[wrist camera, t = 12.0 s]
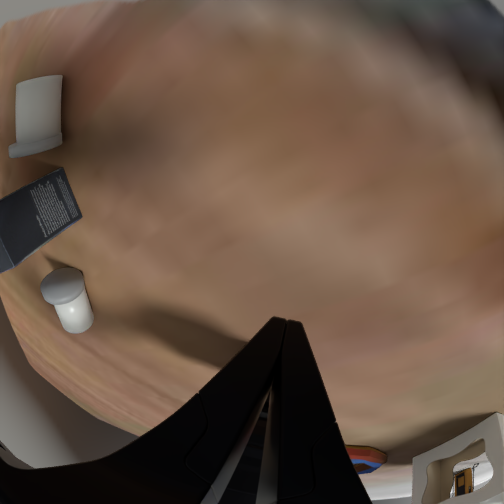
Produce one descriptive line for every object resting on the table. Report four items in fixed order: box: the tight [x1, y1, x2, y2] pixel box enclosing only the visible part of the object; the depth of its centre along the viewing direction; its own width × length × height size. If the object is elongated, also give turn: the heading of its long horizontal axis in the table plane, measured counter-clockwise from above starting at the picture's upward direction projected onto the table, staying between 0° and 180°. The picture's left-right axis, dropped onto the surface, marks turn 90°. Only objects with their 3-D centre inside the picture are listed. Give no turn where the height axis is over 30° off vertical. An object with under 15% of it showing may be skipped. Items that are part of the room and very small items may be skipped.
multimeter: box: [453, 464, 479, 497], centre depth 36 cm, size 15×10×20 cm
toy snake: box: [345, 445, 388, 474], centre depth 44 cm, size 31×22×5 cm
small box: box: [0, 167, 82, 273], centre depth 21 cm, size 11×6×10 cm, turn 108°
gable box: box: [412, 412, 504, 504], centre depth 21 cm, size 22×13×28 cm, turn 153°
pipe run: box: [8, 75, 94, 334], centre depth 23 cm, size 30×6×6 cm, turn 172°
